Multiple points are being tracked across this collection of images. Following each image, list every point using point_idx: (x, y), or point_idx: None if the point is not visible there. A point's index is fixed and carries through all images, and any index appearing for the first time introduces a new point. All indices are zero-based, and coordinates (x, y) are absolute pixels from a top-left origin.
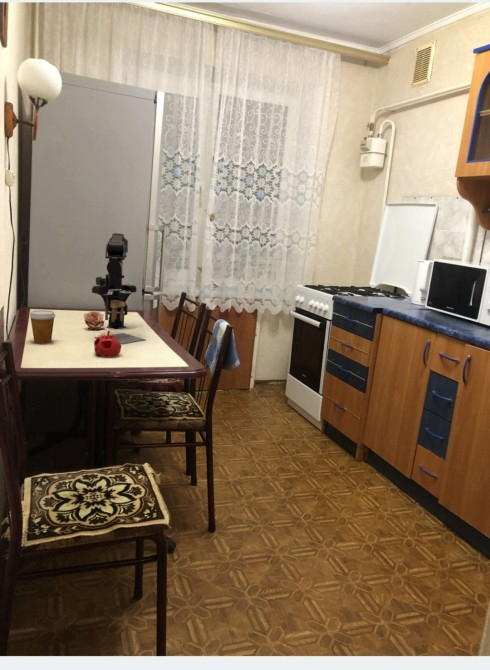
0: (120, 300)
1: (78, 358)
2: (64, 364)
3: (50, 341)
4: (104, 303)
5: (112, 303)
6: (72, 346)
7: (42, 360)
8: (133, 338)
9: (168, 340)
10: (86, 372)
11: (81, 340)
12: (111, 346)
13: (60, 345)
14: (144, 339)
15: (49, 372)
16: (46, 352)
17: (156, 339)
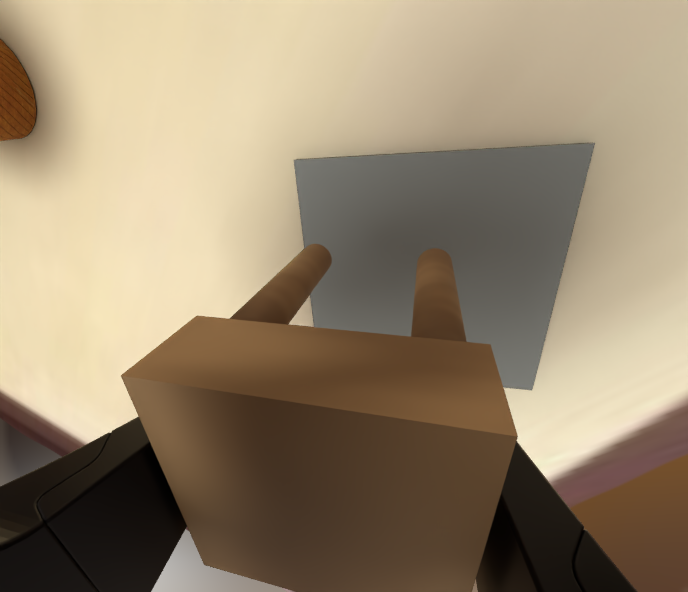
0: (504, 569)
1: (116, 401)
2: (72, 415)
3: (26, 129)
4: (170, 349)
5: (207, 545)
6: (125, 264)
7: (17, 354)
8: (488, 335)
9: (640, 460)
10: None
11: (198, 174)
12: None
13: (78, 215)
14: (521, 388)
15: (37, 435)
16: (24, 284)
17: (608, 409)
